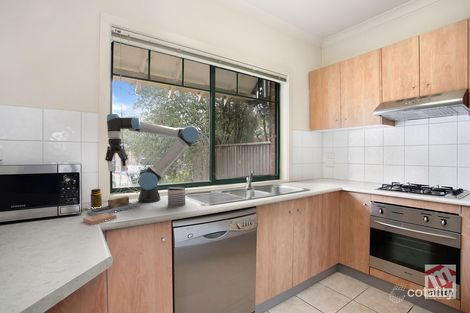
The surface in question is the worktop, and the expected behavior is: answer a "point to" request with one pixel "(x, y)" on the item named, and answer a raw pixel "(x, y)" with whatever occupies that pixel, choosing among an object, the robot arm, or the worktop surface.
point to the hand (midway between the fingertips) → (117, 171)
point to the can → (176, 196)
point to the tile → (98, 218)
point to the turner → (113, 204)
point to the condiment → (96, 198)
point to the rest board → (114, 209)
